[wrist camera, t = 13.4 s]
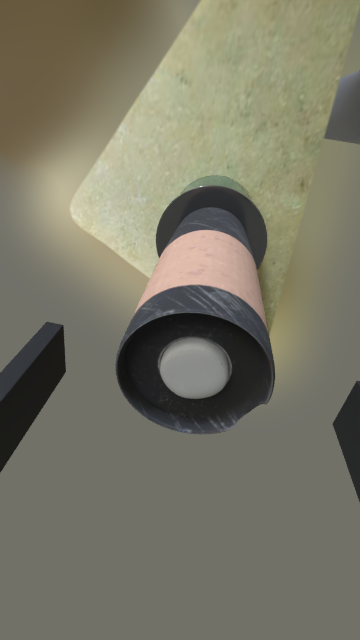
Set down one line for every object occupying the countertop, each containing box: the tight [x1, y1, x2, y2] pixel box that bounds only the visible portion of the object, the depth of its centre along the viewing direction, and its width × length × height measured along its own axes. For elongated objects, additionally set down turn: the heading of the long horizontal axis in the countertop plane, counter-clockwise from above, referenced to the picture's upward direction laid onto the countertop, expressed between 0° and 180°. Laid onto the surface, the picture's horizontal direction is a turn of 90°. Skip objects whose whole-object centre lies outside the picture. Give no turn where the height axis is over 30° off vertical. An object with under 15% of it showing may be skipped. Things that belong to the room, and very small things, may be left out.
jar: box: [156, 176, 267, 269], centre depth 36 cm, size 11×11×10 cm
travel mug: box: [116, 207, 275, 434], centre depth 24 cm, size 8×8×20 cm
